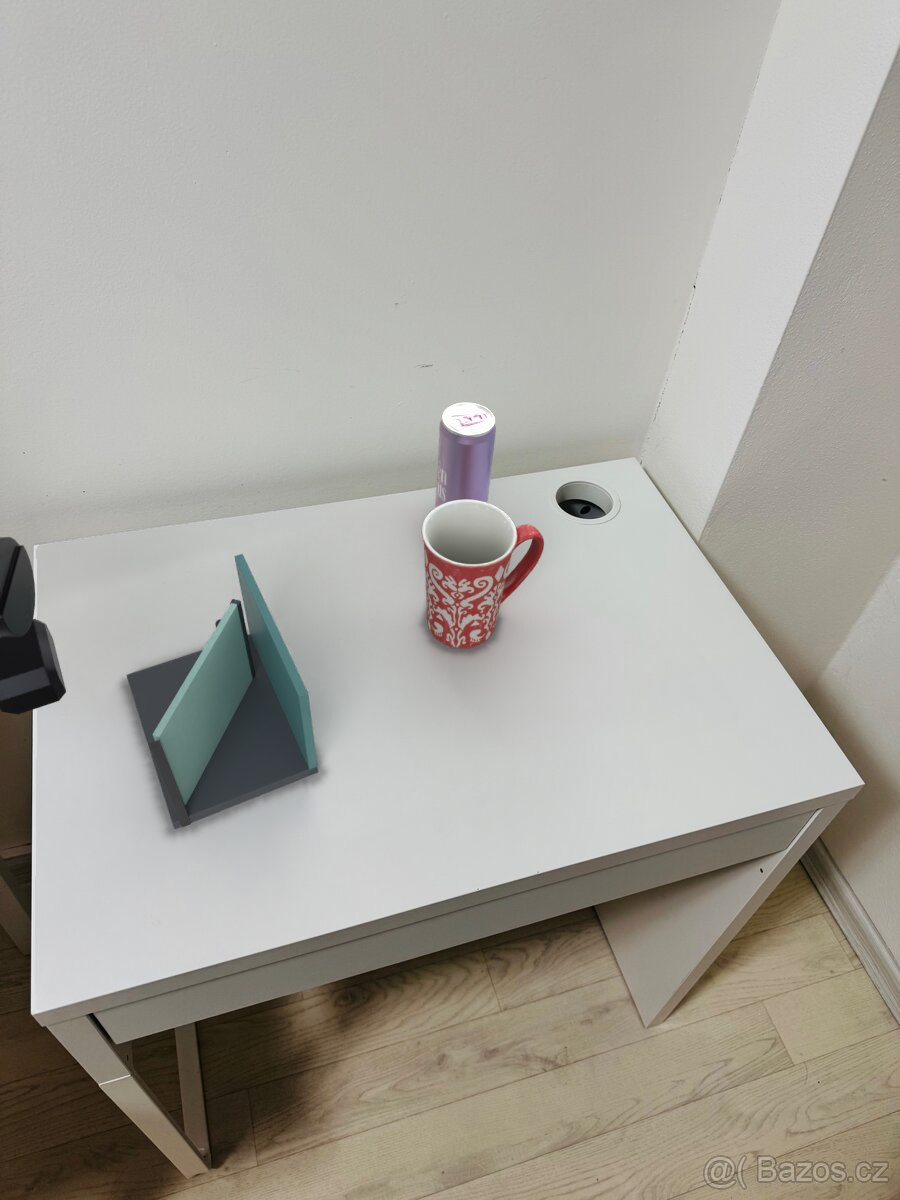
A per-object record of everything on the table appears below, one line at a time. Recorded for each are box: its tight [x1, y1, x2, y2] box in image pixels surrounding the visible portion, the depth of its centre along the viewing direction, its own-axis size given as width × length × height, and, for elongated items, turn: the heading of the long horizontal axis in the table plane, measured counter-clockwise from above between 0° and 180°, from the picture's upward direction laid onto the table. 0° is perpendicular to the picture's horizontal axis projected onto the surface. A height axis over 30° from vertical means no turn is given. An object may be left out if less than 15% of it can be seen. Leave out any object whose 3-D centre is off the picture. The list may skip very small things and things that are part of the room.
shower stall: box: [126, 553, 319, 830], centre depth 74 cm, size 13×17×12 cm
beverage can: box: [434, 402, 497, 509], centre depth 93 cm, size 6×6×15 cm
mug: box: [421, 500, 545, 649], centre depth 84 cm, size 13×9×14 cm
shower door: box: [153, 598, 256, 805], centre depth 72 cm, size 2×14×11 cm, turn 165°
